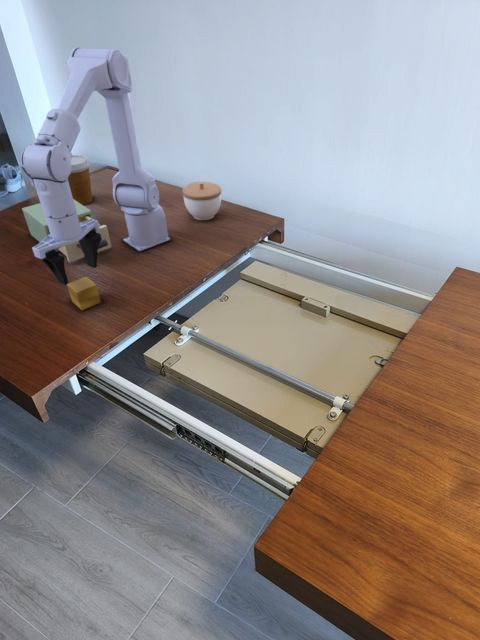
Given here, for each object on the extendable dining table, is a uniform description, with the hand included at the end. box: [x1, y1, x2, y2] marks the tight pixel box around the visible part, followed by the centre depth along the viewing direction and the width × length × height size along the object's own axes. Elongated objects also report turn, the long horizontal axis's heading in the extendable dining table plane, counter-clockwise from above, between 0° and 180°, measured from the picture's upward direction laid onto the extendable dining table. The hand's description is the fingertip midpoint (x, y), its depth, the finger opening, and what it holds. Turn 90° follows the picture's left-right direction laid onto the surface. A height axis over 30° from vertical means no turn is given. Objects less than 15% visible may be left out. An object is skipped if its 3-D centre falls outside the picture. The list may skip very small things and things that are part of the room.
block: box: [66, 276, 102, 311], centre depth 101 cm, size 4×4×4 cm
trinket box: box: [181, 181, 222, 221], centre depth 132 cm, size 11×11×9 cm
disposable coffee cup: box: [68, 154, 93, 206], centre depth 138 cm, size 10×10×12 cm
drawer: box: [48, 215, 112, 263], centre depth 116 cm, size 17×11×6 cm
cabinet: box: [21, 199, 94, 252], centre depth 122 cm, size 13×12×7 cm
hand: (78, 274), depth 98 cm, fingers open, 7 cm apart
